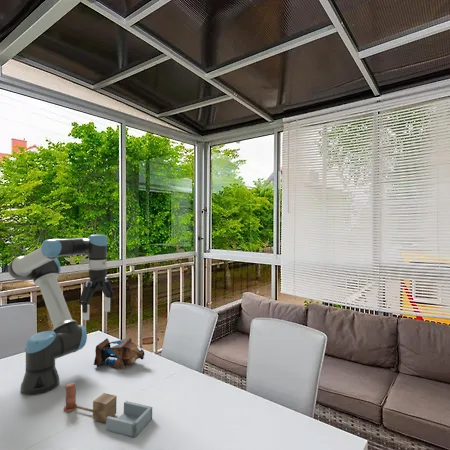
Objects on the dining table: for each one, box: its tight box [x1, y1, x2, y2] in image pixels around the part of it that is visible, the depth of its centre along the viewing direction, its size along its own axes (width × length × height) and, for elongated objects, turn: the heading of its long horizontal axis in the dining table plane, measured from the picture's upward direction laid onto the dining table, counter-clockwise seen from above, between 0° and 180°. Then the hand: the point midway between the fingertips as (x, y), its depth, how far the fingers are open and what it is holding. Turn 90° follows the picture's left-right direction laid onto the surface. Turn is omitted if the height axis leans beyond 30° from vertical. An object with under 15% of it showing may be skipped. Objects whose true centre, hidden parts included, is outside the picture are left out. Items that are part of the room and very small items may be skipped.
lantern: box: [93, 337, 145, 370], centre depth 165 cm, size 16×16×25 cm
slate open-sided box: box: [105, 400, 153, 438], centre depth 117 cm, size 12×11×4 cm
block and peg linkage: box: [63, 382, 118, 423], centre depth 123 cm, size 22×6×9 cm, turn 72°
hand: (97, 315), depth 142 cm, fingers open, 13 cm apart
